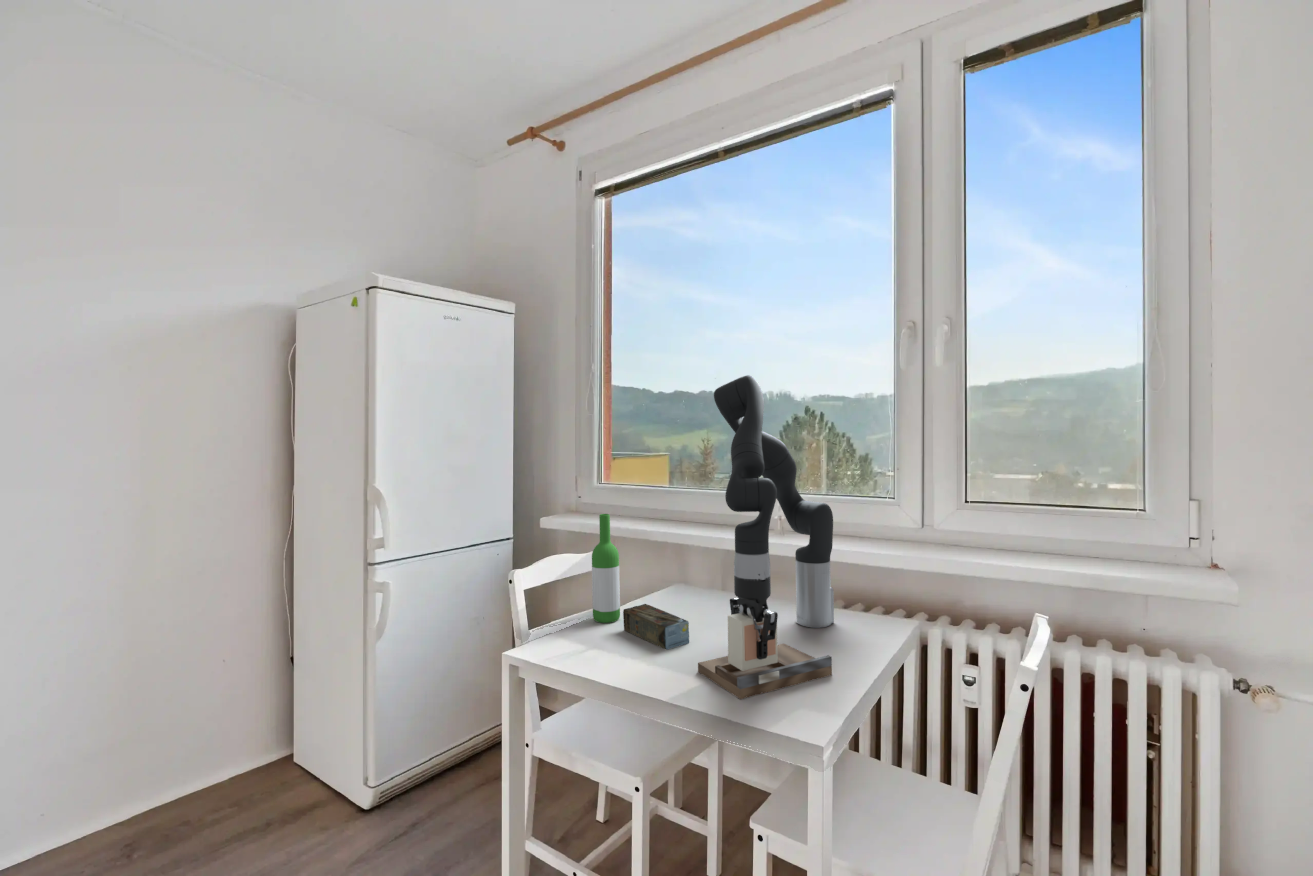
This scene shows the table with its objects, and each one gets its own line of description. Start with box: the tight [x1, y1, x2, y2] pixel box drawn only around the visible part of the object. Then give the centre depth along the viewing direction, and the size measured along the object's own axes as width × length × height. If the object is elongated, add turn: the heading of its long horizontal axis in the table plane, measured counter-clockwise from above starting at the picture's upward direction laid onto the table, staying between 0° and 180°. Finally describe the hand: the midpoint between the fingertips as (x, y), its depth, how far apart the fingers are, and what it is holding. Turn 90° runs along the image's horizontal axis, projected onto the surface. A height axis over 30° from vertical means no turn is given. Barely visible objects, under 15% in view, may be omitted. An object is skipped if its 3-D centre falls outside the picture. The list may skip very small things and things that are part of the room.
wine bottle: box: [591, 513, 621, 624], centre depth 172 cm, size 8×8×30 cm
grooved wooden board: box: [697, 643, 833, 700], centre depth 132 cm, size 24×16×4 cm
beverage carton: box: [622, 603, 690, 650], centre depth 157 cm, size 8×19×7 cm, turn 36°
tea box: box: [727, 613, 778, 671], centre depth 127 cm, size 5×9×10 cm, turn 117°
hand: (753, 653), depth 127 cm, fingers closed on tea box, 5 cm apart
